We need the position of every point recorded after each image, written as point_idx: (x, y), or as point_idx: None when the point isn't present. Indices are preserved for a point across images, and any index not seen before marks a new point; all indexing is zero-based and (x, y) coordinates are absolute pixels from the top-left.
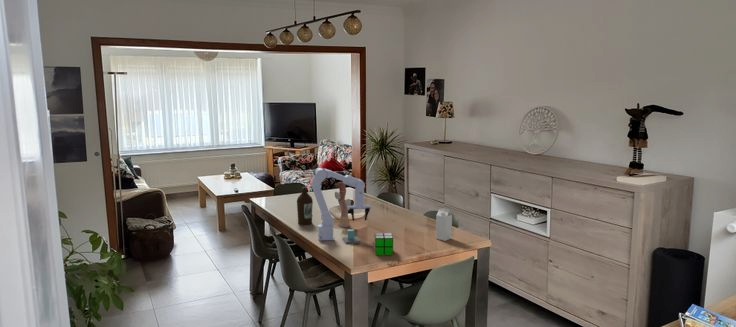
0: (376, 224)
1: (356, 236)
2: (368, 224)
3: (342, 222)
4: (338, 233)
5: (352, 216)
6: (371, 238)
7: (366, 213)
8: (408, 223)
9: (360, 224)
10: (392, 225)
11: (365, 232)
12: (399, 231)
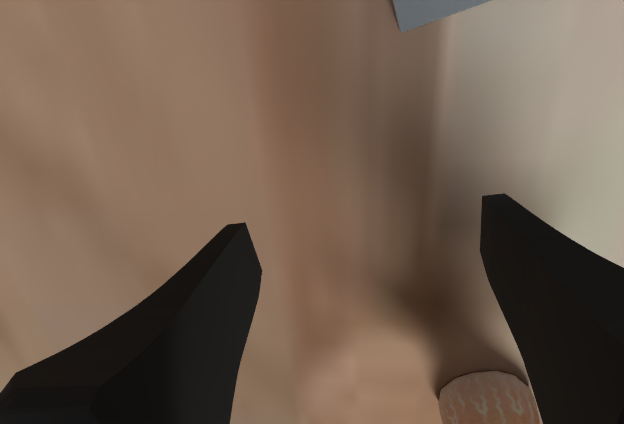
0: (236, 404)
1: (399, 28)
2: (294, 406)
3: (517, 411)
4: (592, 216)
5: (569, 244)
6: (203, 40)
7: (150, 322)
8: None
9: (353, 409)
10: None
11: (299, 246)
12: (10, 270)
